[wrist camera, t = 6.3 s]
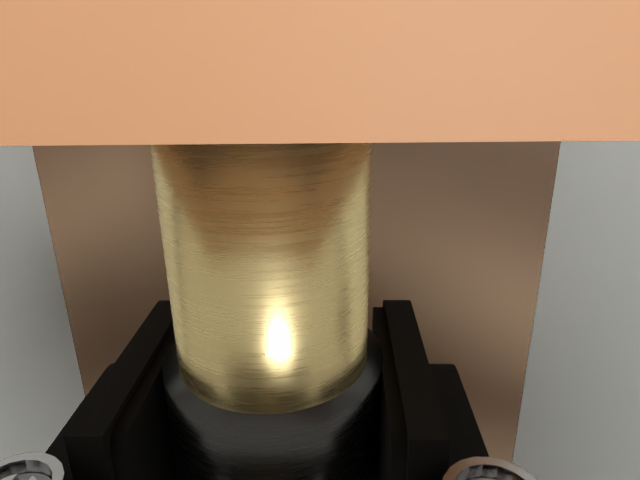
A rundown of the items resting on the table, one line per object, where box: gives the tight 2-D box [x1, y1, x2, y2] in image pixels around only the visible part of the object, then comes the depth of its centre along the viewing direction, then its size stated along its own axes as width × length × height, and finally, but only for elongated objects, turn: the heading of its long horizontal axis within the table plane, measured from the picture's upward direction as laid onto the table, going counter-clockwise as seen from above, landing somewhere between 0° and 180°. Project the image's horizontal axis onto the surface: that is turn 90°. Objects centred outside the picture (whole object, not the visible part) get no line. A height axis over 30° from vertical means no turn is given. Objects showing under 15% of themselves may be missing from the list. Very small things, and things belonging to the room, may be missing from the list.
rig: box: [32, 141, 561, 463], centre depth 11 cm, size 24×12×8 cm, turn 1°
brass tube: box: [150, 143, 383, 480], centre depth 9 cm, size 16×4×4 cm, turn 1°
